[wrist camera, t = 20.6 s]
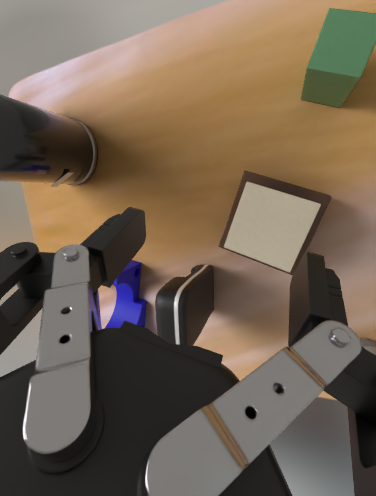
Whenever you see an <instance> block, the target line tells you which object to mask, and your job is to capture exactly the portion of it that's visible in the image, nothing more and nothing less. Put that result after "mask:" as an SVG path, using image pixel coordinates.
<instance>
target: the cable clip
mask: <svg viewBox="0 0 376 496" xmlns="http://www.w3.org/2000/svg"><path fill="white" fill-rule="evenodd" d="M140 272H141V263H140V262H136V261H132V260H131V261H130V262H129V264H128V265H127V266H126V267H125V269H124V270H123V271H122V273H121V274H120V275H119V276H118V278H117V279H116V280H115V281H114V283H113V284H114V285H115V286H116V290H117V300H116V305H115V309H114V312H113V315H112V317H111V319H110V321H109V323H108V324H107V326H106V327H105V328H111V327H121V325H122V324H123V322H124V321H127V322H130V323H133V324H136V325H139V326H141V327H144V326H145V315H146V303H147V301H145V300H142V299H139V285H140Z"/></svg>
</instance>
